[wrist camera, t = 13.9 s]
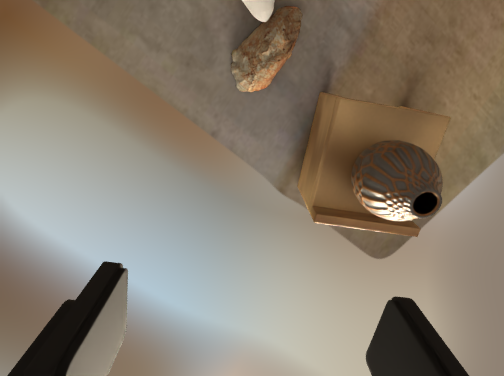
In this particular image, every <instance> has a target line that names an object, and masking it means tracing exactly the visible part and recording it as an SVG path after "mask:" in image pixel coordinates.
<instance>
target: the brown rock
mask: <svg viewBox="0 0 504 376" xmlns="http://www.w3.org/2000/svg"><path fill="white" fill-rule="evenodd" d="M300 11H301V10H300V9H299V8H297V7H291V6H285V7H283V8H279V9H278V10H277V11H276V12H275V14H274V15H272V16H270V18H269V19H268V20H267V21H266V22H262V23H261V24H260V26H259V27H258V28H256V29H255V30H254V31H253V32H252V33H251V35H250V36H249V37H247V38H246V39H245V40H244V41H243V43H242V45H240V46H239V48H238V49H235V50H233V51H232V54H231V55H232V60H233V62H232V63H231V72H232V74H233V76H234V78H235V80H236V82H237V84H236V85H235V86H236V88H239V90H240V91H242V92H245V91H249V92H253V91H259V90H261V89H263V88H266V87H267V86H269V84H270V83H271V82H272V80H273V77H274V76H275V75H276V73H277V72H278V71H279V70H280V68H281V67H282V66H283V65H284V63H285V62H286V60H287V59H288V58H290V56H291V55H292V54H291V52H292V50H293V48H294V46H295V43H296V40H297V37H298V34H299V31H300V27H301V18H302V13H301V12H300Z"/></svg>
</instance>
